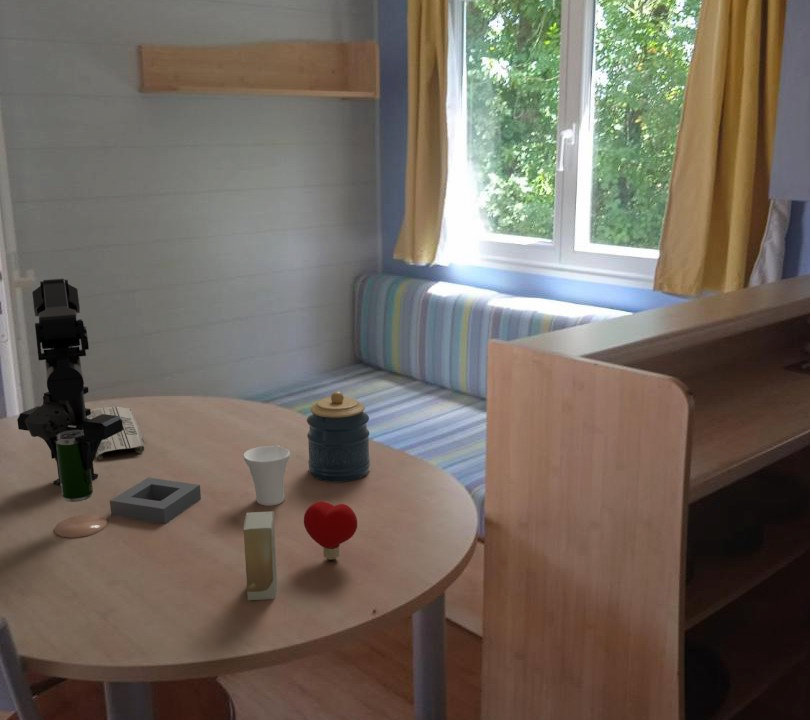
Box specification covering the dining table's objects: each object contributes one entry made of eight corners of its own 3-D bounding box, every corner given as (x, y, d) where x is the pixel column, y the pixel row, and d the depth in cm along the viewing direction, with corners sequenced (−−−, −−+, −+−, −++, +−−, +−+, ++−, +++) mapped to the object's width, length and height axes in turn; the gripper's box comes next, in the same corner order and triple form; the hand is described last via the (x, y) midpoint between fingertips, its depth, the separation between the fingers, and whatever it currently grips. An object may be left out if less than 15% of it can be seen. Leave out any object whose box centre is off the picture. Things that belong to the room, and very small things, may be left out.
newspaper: (79, 419, 226) (78, 406, 225) (130, 412, 231) (129, 399, 230) (98, 464, 195) (96, 449, 194) (155, 455, 200) (154, 440, 200)
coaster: (44, 533, 161) (43, 531, 161) (77, 513, 169) (77, 511, 169) (85, 540, 158) (84, 538, 158) (117, 520, 166) (117, 518, 166)
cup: (301, 494, 177) (299, 447, 174) (275, 512, 168) (273, 463, 166) (263, 487, 180) (261, 441, 178) (236, 505, 172) (233, 456, 170)
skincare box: (250, 581, 143) (246, 511, 140) (277, 580, 143) (274, 509, 140) (246, 602, 137) (242, 528, 134) (275, 600, 137) (271, 527, 134)
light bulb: (365, 554, 152) (363, 499, 149) (349, 573, 145) (347, 516, 143) (315, 546, 154) (313, 493, 152) (297, 565, 148) (295, 509, 146)
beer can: (65, 505, 158) (58, 441, 155) (59, 495, 163) (51, 433, 160) (96, 498, 161) (90, 435, 158) (89, 488, 166) (82, 427, 162)
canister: (319, 487, 180) (316, 404, 176) (301, 466, 192) (297, 387, 187) (379, 477, 185) (377, 395, 181) (357, 456, 197) (355, 380, 192)
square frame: (111, 515, 168) (109, 500, 167) (149, 491, 179) (148, 477, 178) (165, 523, 164) (163, 508, 163) (200, 499, 175) (199, 484, 174)
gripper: (-12, 392, 152) (0, 477, 156) (78, 403, 146) (87, 491, 150) (35, 375, 162) (45, 455, 166) (120, 384, 156) (128, 467, 160)
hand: (74, 467), depth 161 cm, fingers closed on beer can, 5 cm apart
